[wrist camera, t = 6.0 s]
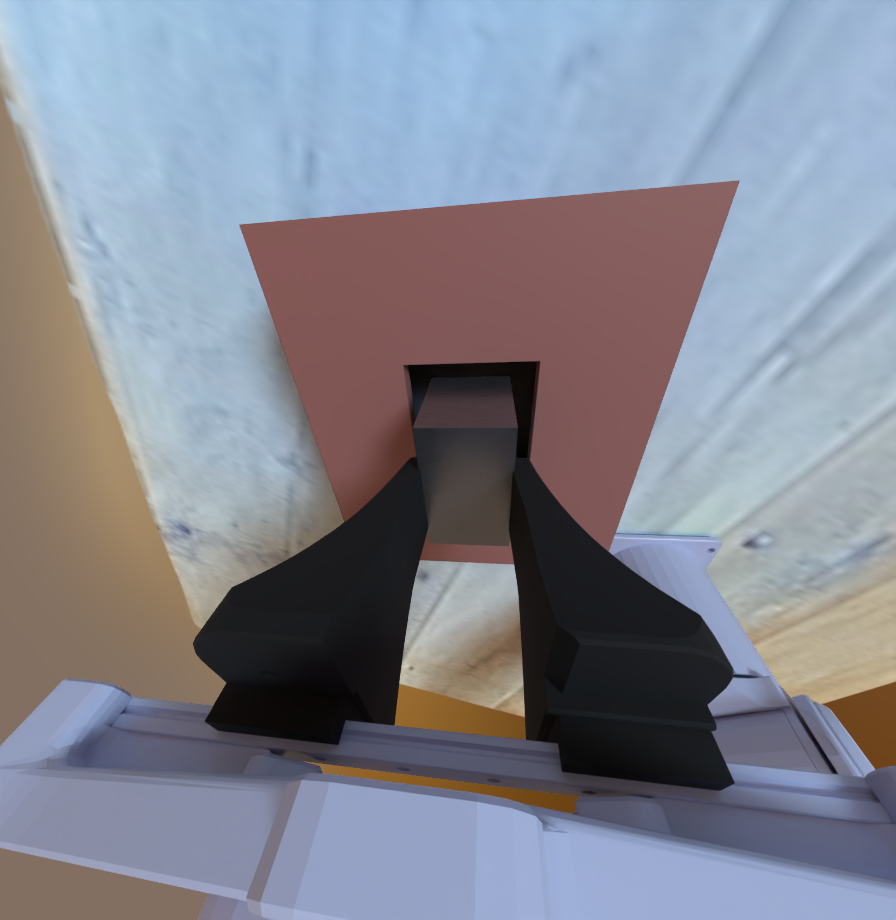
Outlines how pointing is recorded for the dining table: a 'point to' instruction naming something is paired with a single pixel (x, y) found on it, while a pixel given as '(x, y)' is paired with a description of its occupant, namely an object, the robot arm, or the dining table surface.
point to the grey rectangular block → (467, 459)
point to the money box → (494, 328)
